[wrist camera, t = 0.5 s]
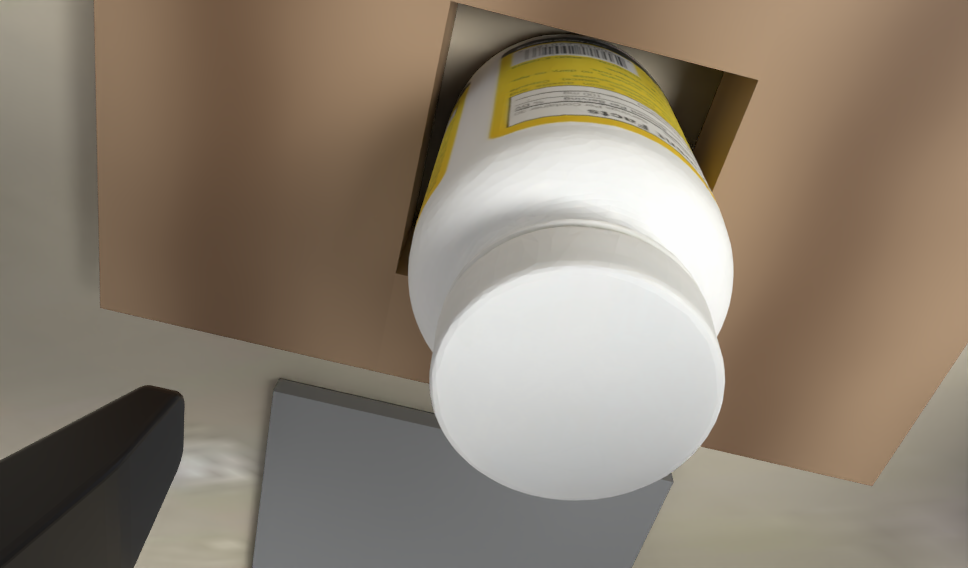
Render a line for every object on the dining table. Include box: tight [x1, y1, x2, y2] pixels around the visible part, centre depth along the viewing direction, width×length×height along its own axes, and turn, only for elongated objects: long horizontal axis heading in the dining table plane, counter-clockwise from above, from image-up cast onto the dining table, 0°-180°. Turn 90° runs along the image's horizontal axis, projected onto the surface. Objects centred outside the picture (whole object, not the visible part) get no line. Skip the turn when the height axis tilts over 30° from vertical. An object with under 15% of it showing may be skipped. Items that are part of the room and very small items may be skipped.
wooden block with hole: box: [94, 0, 968, 486], centre depth 18 cm, size 20×12×2 cm, turn 77°
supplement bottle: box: [408, 34, 733, 500], centre depth 15 cm, size 5×5×10 cm
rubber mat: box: [252, 379, 673, 568], centre depth 26 cm, size 12×10×1 cm
